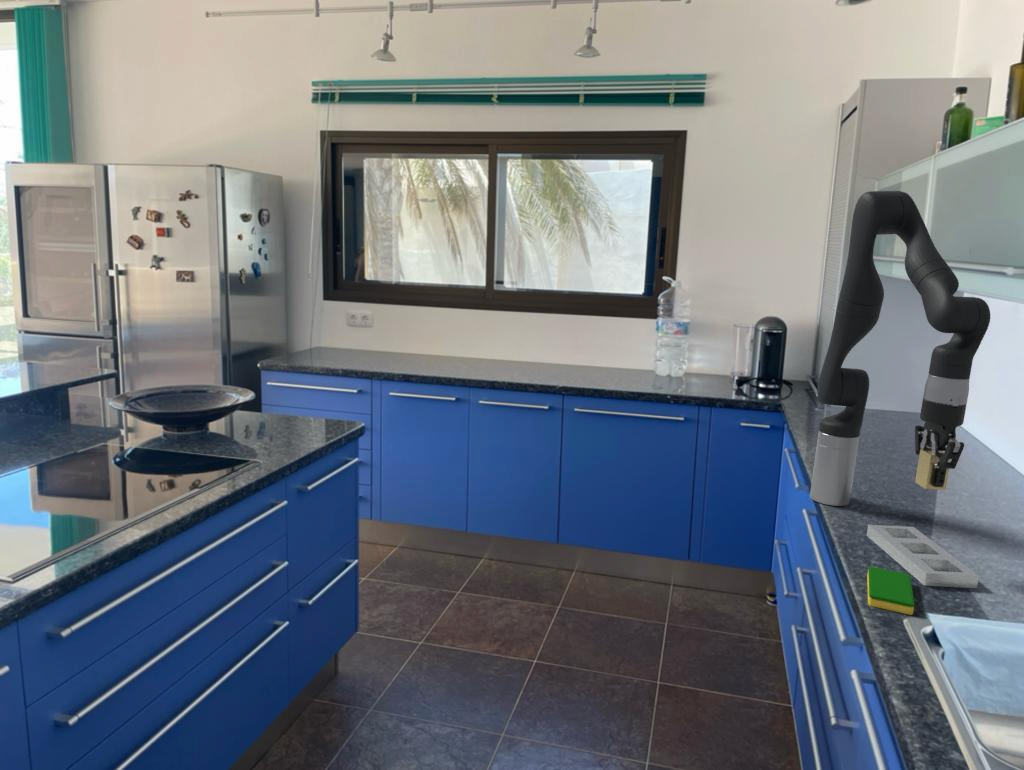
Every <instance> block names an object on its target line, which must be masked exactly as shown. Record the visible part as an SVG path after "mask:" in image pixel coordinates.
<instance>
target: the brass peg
mask: <svg viewBox="0 0 1024 770" xmlns="http://www.w3.org/2000/svg"><path fill="white" fill-rule="evenodd" d="M938 452H939V453H944V452H945V451H938ZM934 459H935V457H934V456H933V455H932V450H923V449H920V455H918V463H917V469H916V473H915V475H916V476H915V481H914V483H915V484H916V485H918V486H920V487H921V488H924V489H925V490H939V491H940V490H941V491H942V490H943V491H946V490H947V485H948V477H949V472H950V469H947V470H946V475H945V481H944V486H943V487H934V486H932V485H931V480H932V474H933V468H935V467H934ZM941 459H942V456H941V457H940V462H941ZM951 460H952V459H950V462H951Z"/></svg>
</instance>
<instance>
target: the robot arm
mask: <svg viewBox="0 0 1024 770" xmlns="http://www.w3.org/2000/svg"><path fill="white" fill-rule="evenodd" d="M878 235H896V236H898V238H900V239H901V241H903V243H904V244H905V246H906V251H905V252H906V253H905V257H904V258H905V259H904V269H905V272H906V273H905V274H906V275H907V277H908V279H909V281H910V282H911V284H912V285H913V286H914V288H915V289H916V291H917V293H919V295H920V296H921V301H922V306H923V309H924V313H925V316H926V320H927V321H928V324H929V325H930V326H931V327H932V328H933V329H934V330H936V331H937V332H940V333H943V334H953V335H952V336H951V338H950V339H949V341H948V342H946V343H943V344H940V345H936V346H935V347H934V348H933V350H932V352H931V356H930V364H929V368H928V374H927V378H926V381H925V384H924V389H923V390H924V391H923V395H922V403H921V408H920V414H919V418H920V420H921V421H923V422H924V424H923V425H915V426H914V445H915V446H914V451H915V455H917V456H919V455H920V449H923V450H932V455H933V456H934V457H935V459H934V467H935V468H933V474H932V480H931V485H932V486H934V487H943V486H944V481H945V475H946V470H947V469H949V470H950V469H952V470H953V469H954V470H955V469H956V467H957V465H958V462H959V459H960V457H961V455H962V453H963V450H964V447H965V443H964V442H963V441H962V442H961V441H958V440H957V439H956V438H957V433H956V432H957V431H956V429H957V428H958V427H960V426H963V424H964V420H965V416H966V409H967V404H968V398H969V393H970V377H971V372H972V366H973V360H974V358H975V356H976V353H977V351H978V350H979V348H980V345H981V344H982V341H983V340H984V337H985V335H986V333H987V331H988V328H989V326H990V324H991V310H990V307H989V305H988V303H987V302H986V301H985V300H984V299H983V298H980V297H975V296H957V295H956V296H955V294H956V292H957V291H958V289H959V286H960V283H959V278H958V277H957V275H956V274H955V273H954V271H953V270H952V268H951V267H950V266H949V265H948V263H947V262H946V260H945V259H944V258H943V257H942V255H941V254H940V252H939V250H938V249H937V248H936V246H935V244H934V241H933V239H932V238H931V236H930V232H929V230H928V228H927V226H926V224H925V222H924V219H923V217H922V214H921V213H920V211H919V209H918V206H917V204H916V203H915V201H914V200H913V198H912V196H910V194H908V192H905V191H902V190H901V191H900V190H879V191H878V190H877V191H876V190H875V191H874V190H872V191H865V192H864V193H862V194H861V195H860V197H858V199H857V202H856V204H855V206H854V210H853V214H852V221H851V229H850V236H849V237H850V239H849V246H848V253H847V260H846V265H845V270H844V275H843V280H842V282H841V283H842V284H841V287H840V291H839V296H838V301H837V306H836V310H835V316H834V322H833V325H832V331H831V336H830V340H829V345H828V348H827V352H826V354H825V358H824V361H823V365H822V368H821V370H820V374H819V379H818V383H817V388H816V390H817V392H816V393H817V394H816V395H817V399H818V401H819V402H820V404H823V405H827V406H837V407H845V408H844V409H843V410H842V411H840V412H839V413H836V414H833V415H831V416H826V417H824V418H822V419H821V420H820V422H819V427H818V434H817V441H816V449H815V455H814V463H813V469H812V470H813V471H812V478H811V484H810V493H809V498H810V499H811V500H813V501H815V502H817V503H821V504H822V505H823V504H824V505H826V506H827V505H829V506H836V507H843V506H848V505H849V504H850V502H851V501H850V500H851V497H852V496H851V495H852V488H853V483H854V477H855V476H854V475H855V470H856V469H855V468H856V463H857V455H858V450H859V441H860V435H861V429H862V426H863V421H864V415H865V411H866V406H867V402H868V397H869V390H870V377H869V374H868V372H867V371H866V370H864V369H859V368H848V367H842V366H843V364H844V362H845V359H846V358H847V356H848V354H849V353H850V352H851V351H852V350H853V348H855V346H856V345H857V344H858V343H860V342H861V341H862V340H863V339H864V338H865V337H866V336H867V335H868V334H869V333H870V332H871V331H872V330H873V328H874V327H875V326H876V325H877V323H878V321H879V318H880V316H881V315H880V314H881V310H882V306H883V302H884V298H885V289H884V286H883V282H882V280H881V278H880V275H879V273H878V271H877V267H876V265H875V261H874V260H875V259H874V248H875V242H876V239H877V236H878ZM938 451H943V452H944V453H939V452H938ZM941 456H942V459H941V462H940V457H941ZM950 459H951V462H950Z"/></svg>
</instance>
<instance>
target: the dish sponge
mask: <svg viewBox="0 0 1024 770" xmlns="http://www.w3.org/2000/svg"><path fill="white" fill-rule="evenodd" d="M866 576H867V577H866V579H867V581H866V582H867V583H866V584H867V606H869V607H874V608H879V609H883V610H888V611H892V612H895V613H896V612H897V613H902V614H905V615H914V610H915V609H914V608H915V597H914V593H913V588H912V587H913V585H912V579H911V574H910V573H905V572H899V571H894V570H889V569H885V568H880V567H875V566H868V570H867V575H866Z"/></svg>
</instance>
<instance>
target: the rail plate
mask: <svg viewBox="0 0 1024 770" xmlns="http://www.w3.org/2000/svg"><path fill="white" fill-rule="evenodd" d="M866 537H868V538H869V539H870V540H871V541H872V542H873V541H874V542H873V543H875V544H876V546H878V547H879V548H880V549H881V550H882V551H884V552H885V553H887V555H889V556H890V557H891V558H892V560H894V561H896V563H898V564H899V565H900V566H901V567H902V568H903V569H905V570H906V571H907V572H908V574H909V575H911V576H913V577H914V578H915V579H916V580H918V582H920V584H922V585H923V586H924V587H925V586H926V587H927V586H928V587H945V588H947V587H948V588H949V587H950V588H966V589H978V586H979V579H980V575H979V574H978V573H976V572H974V571H973V570H972V569H971V568H969V567H968V566H967V565H966V564H964V563H963V562H961V561H960V560H959V559H958V558H956V557H954V555H952V554H951V553H950V552H948V551H946V550H945V549H944V548H943V547H941V546H939V545H938V544H937V543H936V542H934V541H933V540H932V539H930V538H929V537H927V535H926V534H924V533H922V532H921V531H920V530H918V529H917V528H916V527H914V526H902V525H901V526H899V525H882V524H881V525H880V524H879V525H878V524H868V525H867V531H866Z"/></svg>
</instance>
